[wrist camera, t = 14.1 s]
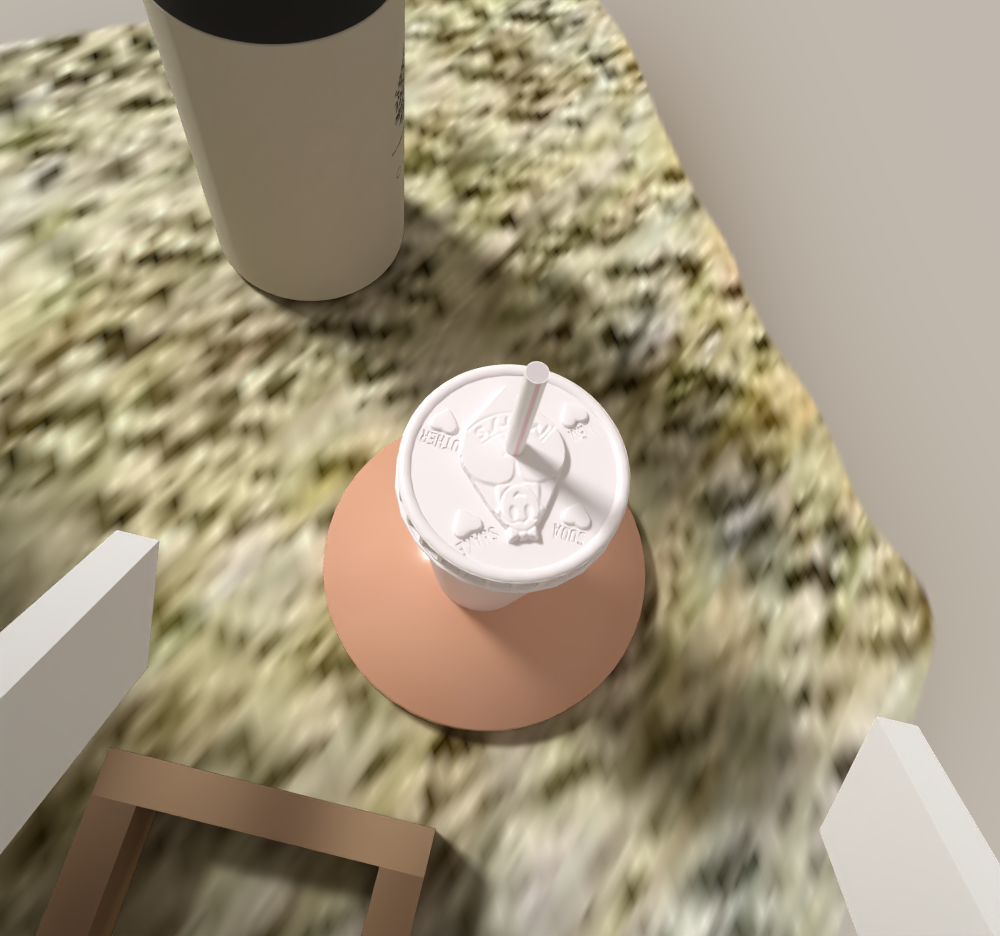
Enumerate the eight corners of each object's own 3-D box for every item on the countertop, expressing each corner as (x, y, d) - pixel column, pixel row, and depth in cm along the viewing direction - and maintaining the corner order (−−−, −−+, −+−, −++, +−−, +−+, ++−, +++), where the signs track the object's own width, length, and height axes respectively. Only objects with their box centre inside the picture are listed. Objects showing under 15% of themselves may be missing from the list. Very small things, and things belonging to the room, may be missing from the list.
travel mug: (203, 294, 35) (29, -162, 19) (237, 147, 39) (112, -357, 22) (393, 315, 36) (386, -110, 20) (412, 168, 39) (419, -307, 23)
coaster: (276, 494, 33) (273, 487, 32) (549, 383, 36) (552, 373, 35) (407, 794, 29) (407, 793, 28) (697, 640, 32) (704, 636, 31)
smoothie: (556, 476, 33) (656, 267, 20) (579, 641, 31) (708, 524, 18) (390, 486, 32) (384, 274, 19) (402, 657, 30) (403, 546, 17)
